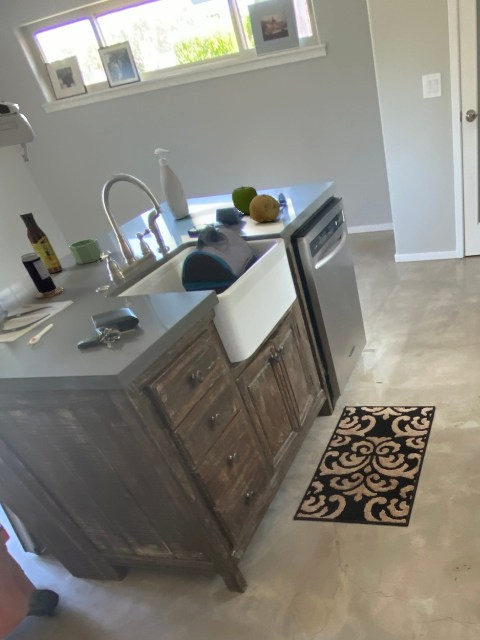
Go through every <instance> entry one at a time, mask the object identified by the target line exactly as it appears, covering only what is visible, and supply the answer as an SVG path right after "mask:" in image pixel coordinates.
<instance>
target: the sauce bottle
mask: <svg viewBox="0 0 480 640" xmlns="http://www.w3.org/2000/svg"><path fill="white" fill-rule="evenodd" d="M19 217H20V219H21V220H22V221H23V223H24V225H25V228H26V234H27V238H28V241H29V243H30V245H31V247H32V249H33V252H34V253H37V255H39V256H40V258H41V259H42V261H43V263H44V265H45V267H46V269H47V271H48V273H49V274H55V273H58V272H61V271H62V270H63V267H62V263H61V261H60V259H59V258H58V255H57V253H56V251H55V250H54V248H53V245H52V244H51V241H50V238H49V237H48V235H47V234H46V233H45V232H44V231H43V229H42V228H41V227H39V225H38V223H37V222H36V219H35V217H34V214H33V212H31V211H27V212H23V213H20V214H19Z"/></svg>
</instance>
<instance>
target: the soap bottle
mask: <svg viewBox="0 0 480 640" xmlns="http://www.w3.org/2000/svg"><path fill="white" fill-rule="evenodd" d="M170 152H171V149H164V148H161V147H158V148H156V149H155V150H154V155H158V156H159V157H160V158H159V159H158V164H159V167H160V168H159V169H160V171H159V172H160V173H159V178H160V187H161V191H162V194H163V198H164V200H165V202H166V205H167V207H168V210H169V212H170V214H171V216H172V217H173V218H174V220H181V219H184V218H186V217H187V216H188V215H189V213H190V211H189V205H188V200H187V196H186V193H185V190H184V187H183V185H182V183H181V181H180V179H179V177H178V175H177V174H176V172H175V171H174V170H173V169H172V168H171V166H170V165H169V162H168V159H167V158H166V157H164V156H163V154H167V153H170Z"/></svg>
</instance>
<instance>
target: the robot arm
mask: <svg viewBox="0 0 480 640" xmlns="http://www.w3.org/2000/svg"><path fill="white" fill-rule="evenodd" d="M36 139H37V135H36V133H35V131H34V129H33V127H32V126H31V124H30V122H29V121H28V119H27V118H26V117H25V116H24V115H23V114H22V113H21V112H20V108H19V106H18V104H16V103H15V102H9V101H4V100H0V148H4V147H10V146H16V145H19V146H21V148H22V149H23V154H22V155H21V157H22V158H23V161H24V162H26V163H27V162H30V161H32V159H31V157H30V156H29V145H28V143H33V142H35V141H36Z"/></svg>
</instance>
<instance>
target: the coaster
mask: <svg viewBox="0 0 480 640" xmlns="http://www.w3.org/2000/svg"><path fill="white" fill-rule="evenodd" d="M64 290H65V289H64V287H62V286H61V287H60V286H56V289H55V292H53V293H50V294H45V295H44V294H42V293H40V292H39V291H38V293H36V294H35V298H36V299H47V298H51V297H55V296H57V295H59V294H61V293H63V292H64Z"/></svg>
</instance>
